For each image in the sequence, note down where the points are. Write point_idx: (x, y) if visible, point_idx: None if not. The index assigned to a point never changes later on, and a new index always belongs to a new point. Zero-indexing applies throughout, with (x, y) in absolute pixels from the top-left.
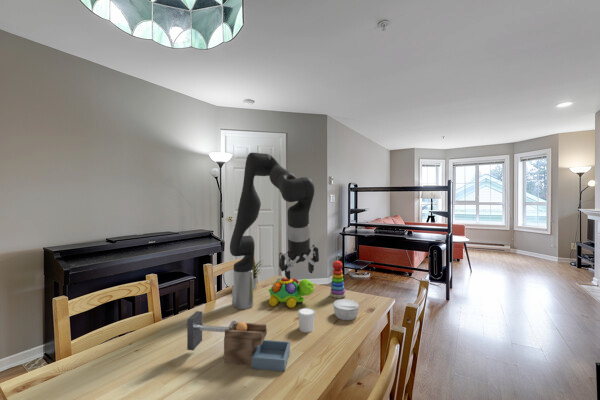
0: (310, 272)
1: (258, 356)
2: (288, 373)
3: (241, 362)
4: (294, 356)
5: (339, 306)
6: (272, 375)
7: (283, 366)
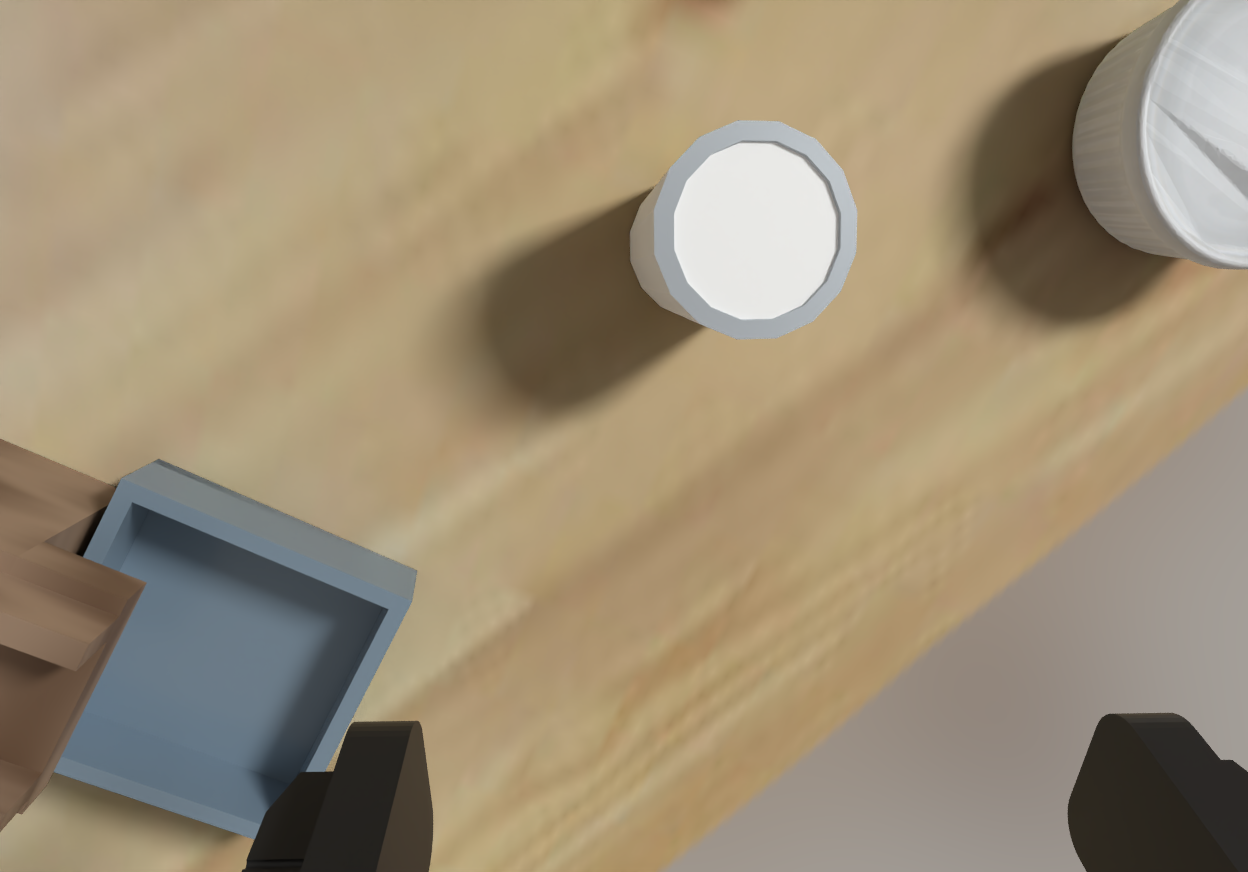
0: (1085, 842)
1: None
2: None
3: None
4: (435, 639)
5: (1180, 135)
6: None
7: None
